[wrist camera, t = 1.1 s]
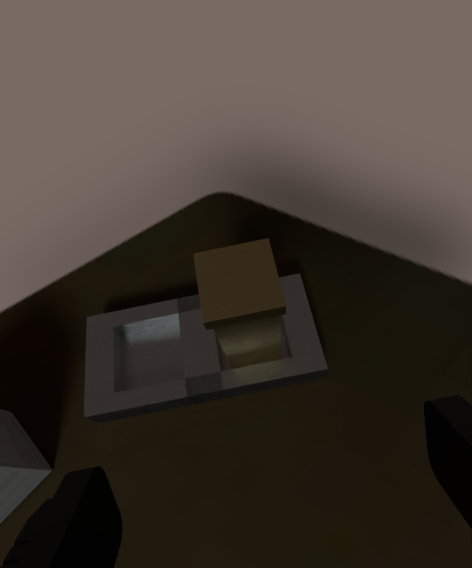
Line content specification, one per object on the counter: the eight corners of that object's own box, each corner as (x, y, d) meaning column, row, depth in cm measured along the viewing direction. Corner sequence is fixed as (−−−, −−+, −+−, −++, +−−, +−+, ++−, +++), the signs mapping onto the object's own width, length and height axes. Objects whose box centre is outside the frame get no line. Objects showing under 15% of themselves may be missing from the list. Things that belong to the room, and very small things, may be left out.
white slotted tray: (99, 423, 33) (83, 417, 31) (100, 329, 38) (86, 317, 35) (324, 378, 33) (327, 368, 30) (299, 288, 37) (299, 273, 35)
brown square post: (227, 372, 33) (202, 323, 23) (219, 318, 36) (193, 253, 26) (286, 360, 33) (286, 306, 23) (273, 307, 35) (268, 238, 26)
